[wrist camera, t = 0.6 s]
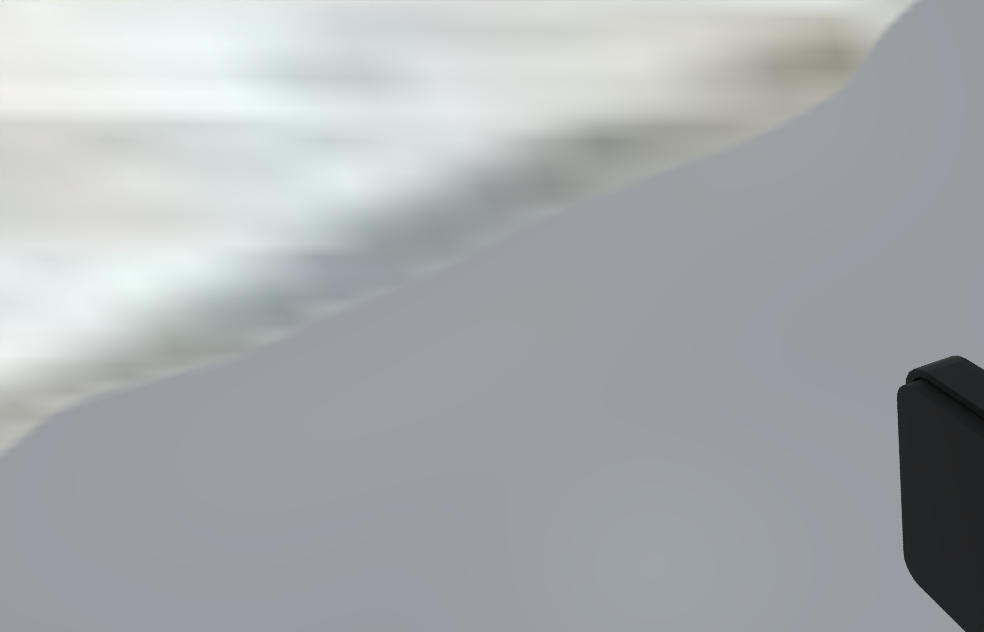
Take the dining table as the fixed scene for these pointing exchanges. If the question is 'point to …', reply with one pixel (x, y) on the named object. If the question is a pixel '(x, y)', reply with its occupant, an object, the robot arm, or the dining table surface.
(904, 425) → the robot arm
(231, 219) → the dining table surface
